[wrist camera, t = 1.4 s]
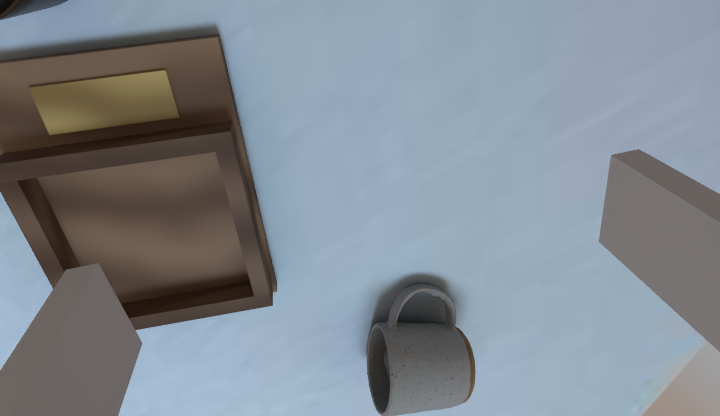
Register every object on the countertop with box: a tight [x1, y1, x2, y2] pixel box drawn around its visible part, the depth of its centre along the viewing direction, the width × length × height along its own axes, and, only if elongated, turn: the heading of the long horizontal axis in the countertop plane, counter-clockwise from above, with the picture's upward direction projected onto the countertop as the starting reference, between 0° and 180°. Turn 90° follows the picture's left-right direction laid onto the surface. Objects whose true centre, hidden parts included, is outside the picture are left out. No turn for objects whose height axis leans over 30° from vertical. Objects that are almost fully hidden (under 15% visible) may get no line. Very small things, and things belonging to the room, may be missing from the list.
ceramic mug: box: [367, 284, 475, 416], centre depth 40 cm, size 11×8×8 cm
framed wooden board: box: [0, 35, 277, 330], centre depth 32 cm, size 20×15×3 cm
